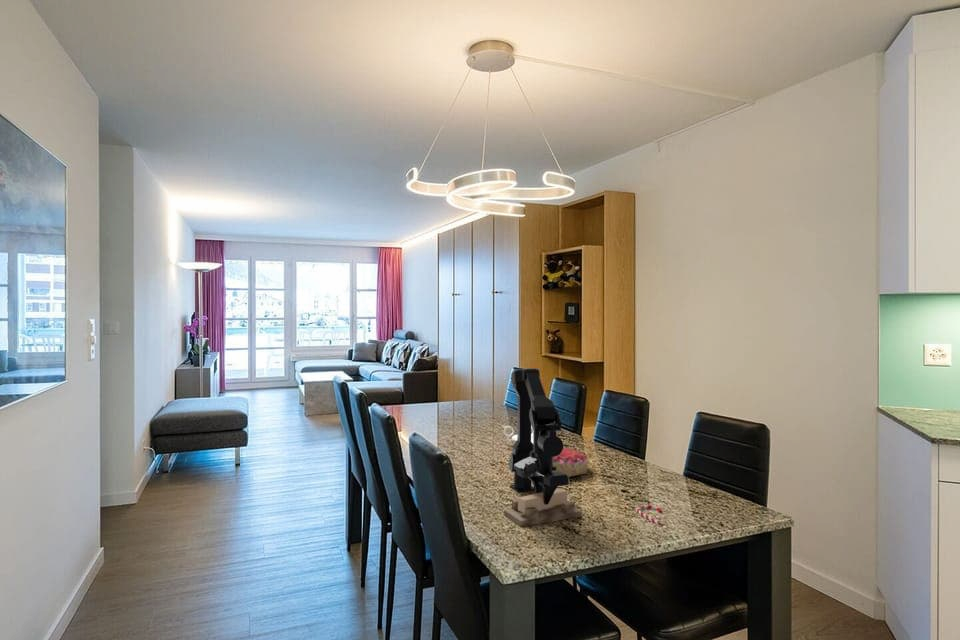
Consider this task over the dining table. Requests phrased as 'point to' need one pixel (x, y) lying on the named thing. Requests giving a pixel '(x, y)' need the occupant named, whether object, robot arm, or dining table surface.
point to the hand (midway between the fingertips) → (542, 502)
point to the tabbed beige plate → (542, 513)
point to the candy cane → (647, 515)
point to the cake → (571, 462)
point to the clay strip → (542, 500)
